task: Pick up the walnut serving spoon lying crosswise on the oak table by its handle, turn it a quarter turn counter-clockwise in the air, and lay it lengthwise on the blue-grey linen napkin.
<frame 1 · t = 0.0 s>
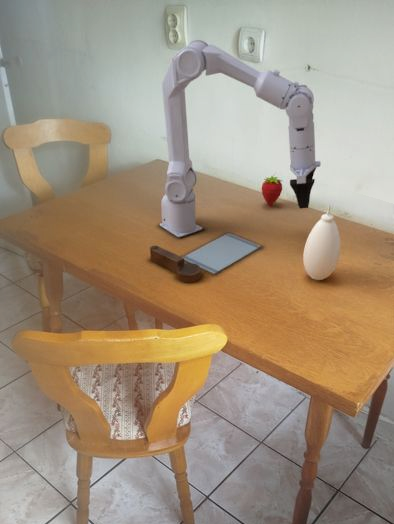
hand: (304, 201, 125), 11 cm above the table, tool pointing down, fingers open, 7 cm apart
strawberry: (270, 206, 148), on the table
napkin: (221, 252, 126), on the table
spoon: (188, 276, 118), on the table
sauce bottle: (317, 278, 117), on the table
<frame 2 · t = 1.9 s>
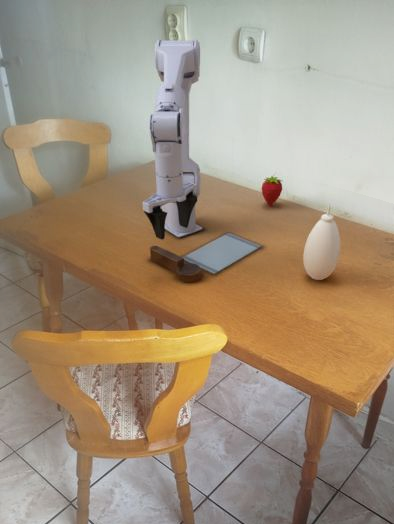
hand: (172, 231, 114), 10 cm above the table, tool pointing down, fingers open, 7 cm apart
nothing on the table moved.
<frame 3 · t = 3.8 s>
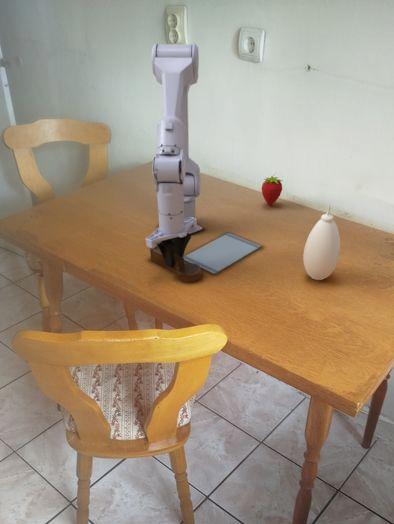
hand: (173, 263, 120), 1 cm above the table, tool pointing down, fingers closed on spoon, 2 cm apart
spoon: (189, 276, 118), on the table, touching gripper
everything else where it was.
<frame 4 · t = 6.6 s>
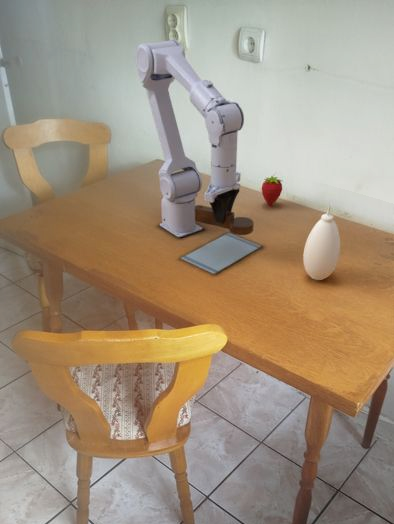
hand: (222, 219, 121), 9 cm above the table, tool pointing down, fingers closed on spoon, 2 cm apart
spoon: (241, 229, 120), point 7 cm above the table, touching gripper
everything else where it was.
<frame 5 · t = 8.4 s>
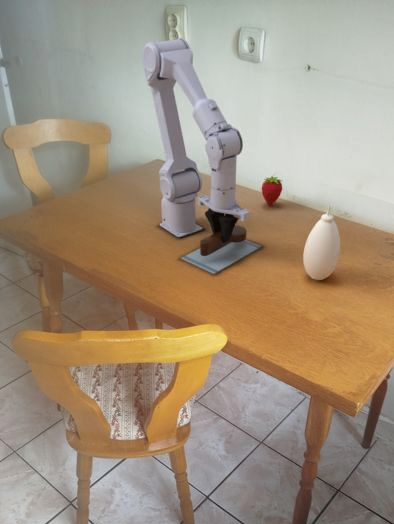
hand: (222, 239, 124), 4 cm above the table, tool pointing down, fingers closed on spoon, 2 cm apart
spoon: (235, 237, 128), point 2 cm above the table, touching gripper
everything else where it was.
when the fingers open (2 cm above the table, at t = 9.3 s): spoon stays where it is, resting on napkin.
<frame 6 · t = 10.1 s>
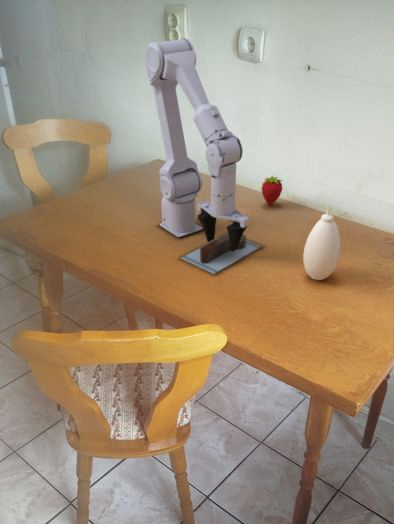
hand: (221, 245, 125), 2 cm above the table, tool pointing down, fingers open, 7 cm apart
spoon: (234, 244, 129), resting on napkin
everything else where it was.
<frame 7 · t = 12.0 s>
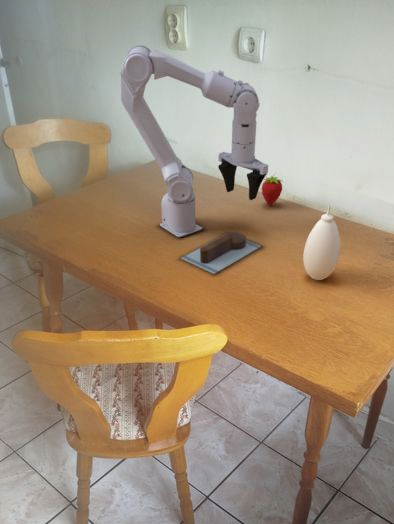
hand: (241, 194, 131), 9 cm above the table, tool pointing down, fingers open, 7 cm apart
nothing on the table moved.
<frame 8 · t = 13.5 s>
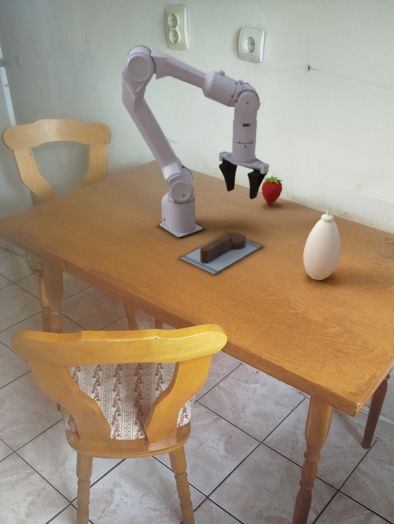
hand: (241, 194, 131), 9 cm above the table, tool pointing down, fingers open, 7 cm apart
nothing on the table moved.
at the end: spoon 0.2 cm from the target spot, resting on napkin; spoon touching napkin; spoon tilted 0° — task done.
